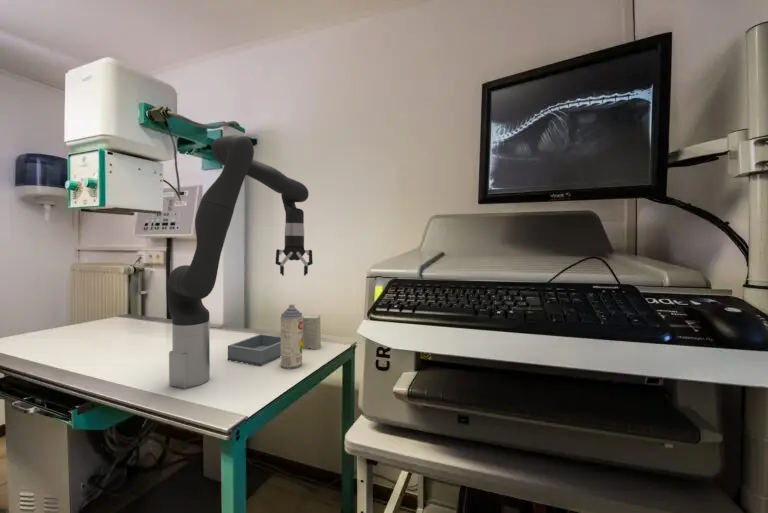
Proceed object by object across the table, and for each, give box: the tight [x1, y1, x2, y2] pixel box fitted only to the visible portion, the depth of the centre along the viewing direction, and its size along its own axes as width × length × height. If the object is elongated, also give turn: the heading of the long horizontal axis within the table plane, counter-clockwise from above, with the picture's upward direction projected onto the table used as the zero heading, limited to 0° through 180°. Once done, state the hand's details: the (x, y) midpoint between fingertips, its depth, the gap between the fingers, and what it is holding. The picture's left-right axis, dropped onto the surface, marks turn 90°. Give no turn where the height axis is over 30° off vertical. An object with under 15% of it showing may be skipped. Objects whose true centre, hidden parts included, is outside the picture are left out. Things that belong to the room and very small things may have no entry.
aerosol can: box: [280, 303, 303, 370], centre depth 110 cm, size 7×7×20 cm
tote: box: [227, 333, 281, 367], centre depth 119 cm, size 16×14×5 cm
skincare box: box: [302, 314, 322, 350], centre depth 128 cm, size 6×4×12 cm
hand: (294, 275), depth 134 cm, fingers open, 8 cm apart
